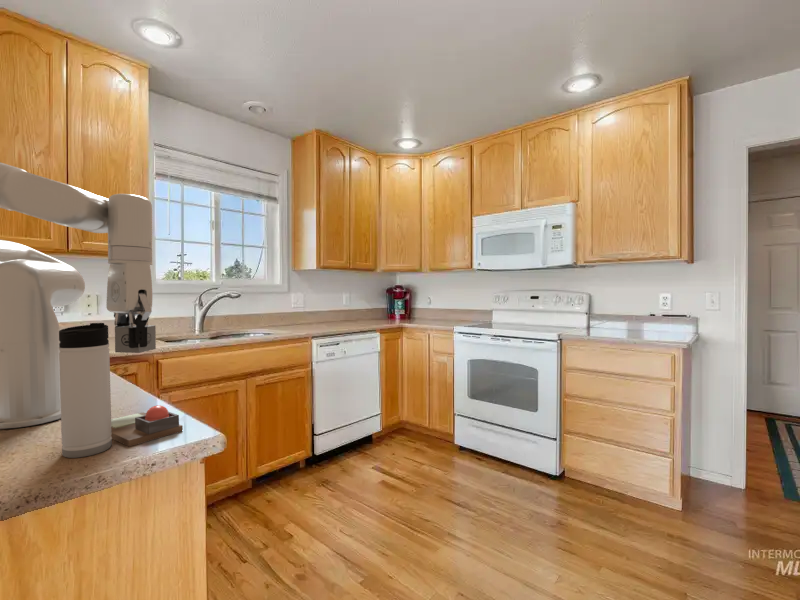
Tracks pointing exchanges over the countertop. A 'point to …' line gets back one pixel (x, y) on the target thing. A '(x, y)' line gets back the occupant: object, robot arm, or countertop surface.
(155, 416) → the dome
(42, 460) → the countertop surface
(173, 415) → the button base
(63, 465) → the countertop surface
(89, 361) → the travel mug
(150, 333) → the grey sad face cube
